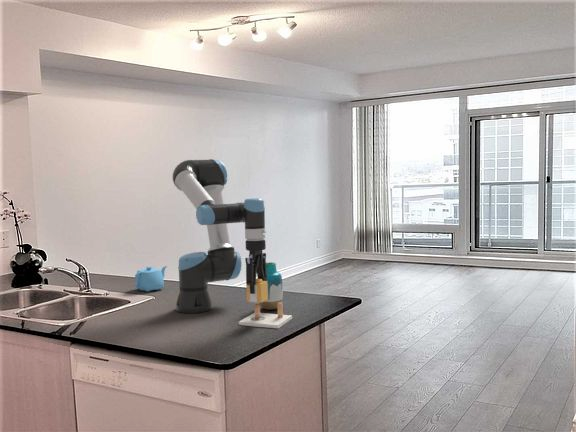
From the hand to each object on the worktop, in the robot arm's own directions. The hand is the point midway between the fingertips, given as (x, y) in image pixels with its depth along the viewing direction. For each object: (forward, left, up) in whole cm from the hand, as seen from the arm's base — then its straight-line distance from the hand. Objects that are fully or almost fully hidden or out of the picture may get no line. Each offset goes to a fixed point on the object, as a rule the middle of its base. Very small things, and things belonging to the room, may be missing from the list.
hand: (257, 299), depth 213 cm
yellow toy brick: (0, 0, 0) cm, 0 cm away
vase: (-3, +19, -9) cm, 21 cm away
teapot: (-75, +38, -9) cm, 85 cm away
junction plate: (+3, +1, -9) cm, 9 cm away
